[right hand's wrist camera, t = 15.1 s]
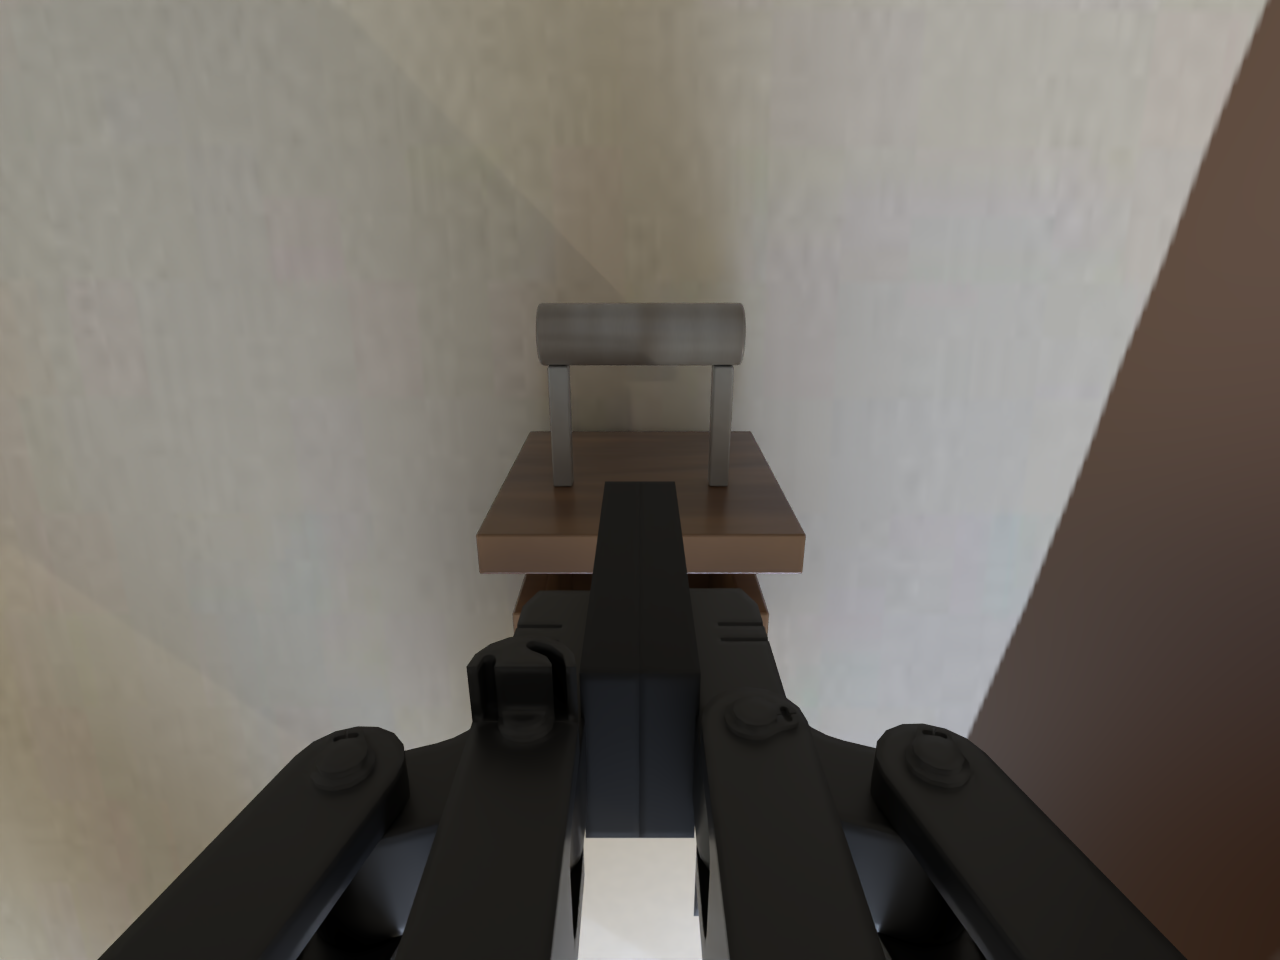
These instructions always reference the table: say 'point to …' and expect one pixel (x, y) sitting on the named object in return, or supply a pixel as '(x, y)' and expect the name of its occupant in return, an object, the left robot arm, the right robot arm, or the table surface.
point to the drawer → (640, 459)
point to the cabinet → (639, 900)
